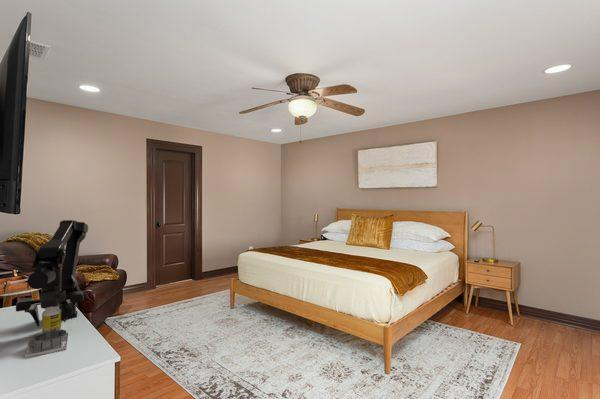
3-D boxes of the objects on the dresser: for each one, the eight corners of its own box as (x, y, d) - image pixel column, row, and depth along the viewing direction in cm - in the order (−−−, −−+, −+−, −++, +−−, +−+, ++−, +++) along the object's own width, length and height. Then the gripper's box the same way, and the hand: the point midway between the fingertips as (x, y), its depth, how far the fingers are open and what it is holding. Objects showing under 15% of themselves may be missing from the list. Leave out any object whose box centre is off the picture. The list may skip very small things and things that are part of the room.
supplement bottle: (50, 335, 111) (50, 307, 111) (38, 333, 112) (37, 306, 112) (65, 328, 117) (64, 302, 116) (52, 327, 118) (52, 301, 118)
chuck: (30, 342, 106) (30, 332, 106) (68, 335, 112) (68, 325, 111) (25, 358, 96) (25, 347, 96) (66, 349, 102) (66, 338, 101)
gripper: (12, 291, 102) (12, 339, 103) (82, 282, 113) (83, 326, 113) (18, 282, 112) (19, 327, 112) (83, 275, 122) (83, 316, 122)
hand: (51, 324), depth 115 cm, fingers open, 7 cm apart
